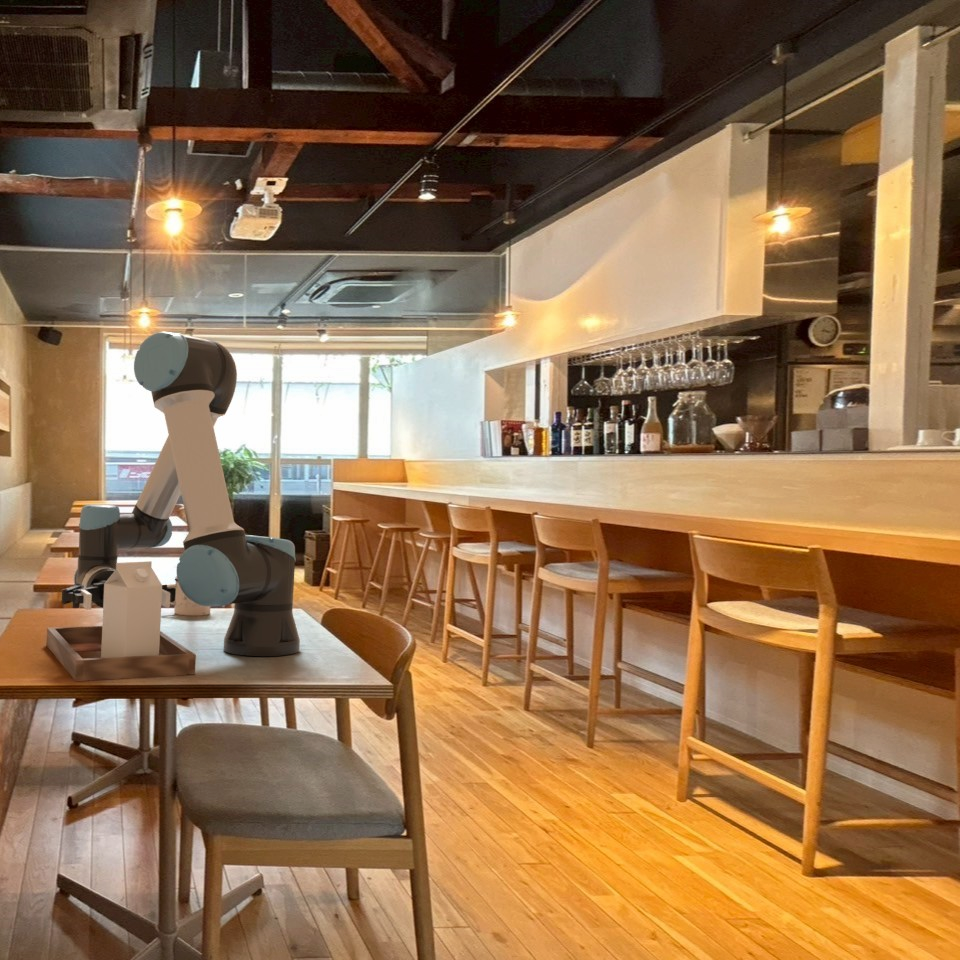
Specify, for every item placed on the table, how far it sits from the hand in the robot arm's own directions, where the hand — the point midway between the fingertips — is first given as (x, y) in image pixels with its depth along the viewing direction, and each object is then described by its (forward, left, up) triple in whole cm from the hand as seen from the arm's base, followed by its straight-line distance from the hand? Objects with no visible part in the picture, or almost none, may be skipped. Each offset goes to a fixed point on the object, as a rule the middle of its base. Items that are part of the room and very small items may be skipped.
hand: (129, 601), depth 183 cm
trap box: (+3, -10, -12) cm, 16 cm away
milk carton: (-1, +1, -12) cm, 12 cm away
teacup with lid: (-3, -72, -12) cm, 73 cm away
